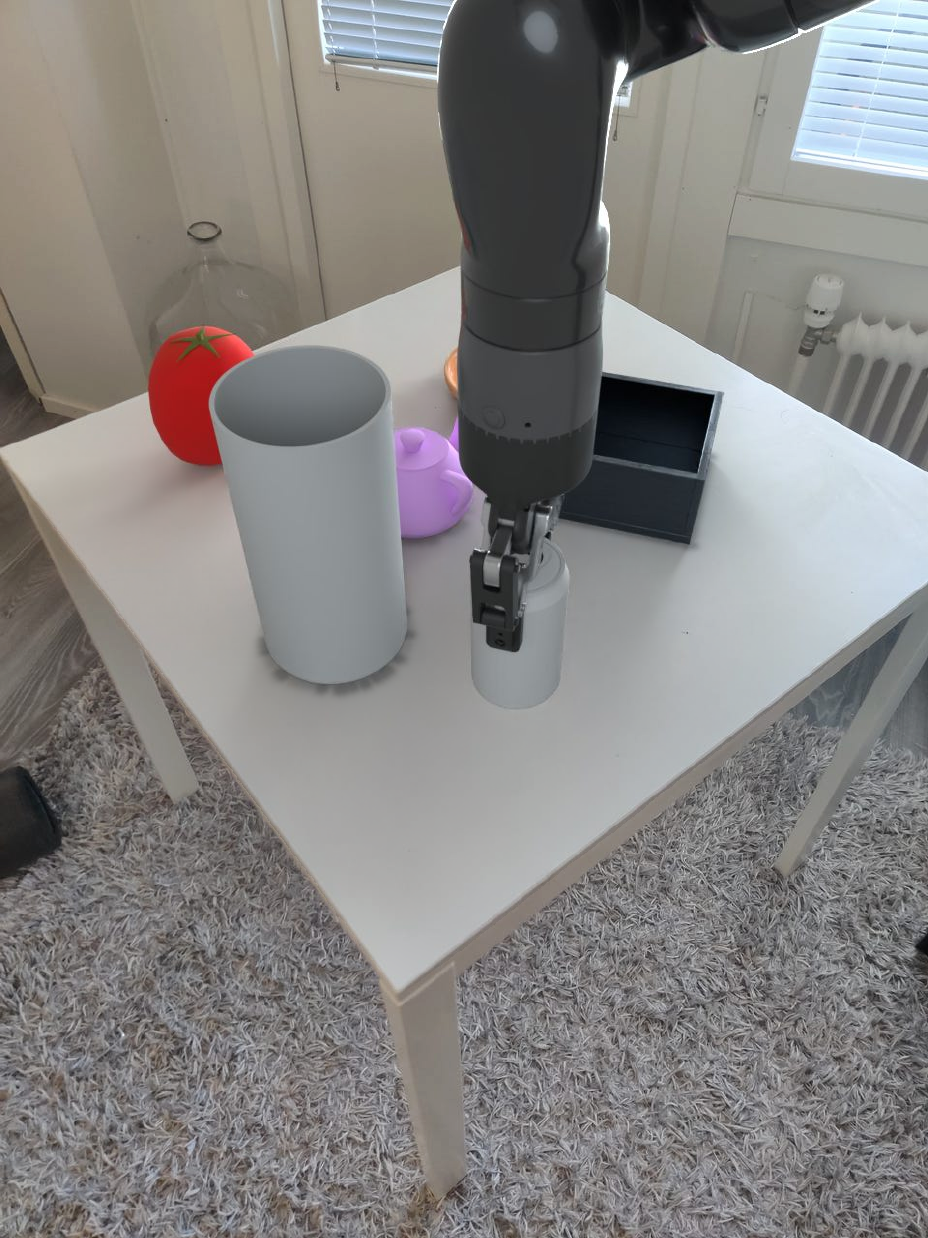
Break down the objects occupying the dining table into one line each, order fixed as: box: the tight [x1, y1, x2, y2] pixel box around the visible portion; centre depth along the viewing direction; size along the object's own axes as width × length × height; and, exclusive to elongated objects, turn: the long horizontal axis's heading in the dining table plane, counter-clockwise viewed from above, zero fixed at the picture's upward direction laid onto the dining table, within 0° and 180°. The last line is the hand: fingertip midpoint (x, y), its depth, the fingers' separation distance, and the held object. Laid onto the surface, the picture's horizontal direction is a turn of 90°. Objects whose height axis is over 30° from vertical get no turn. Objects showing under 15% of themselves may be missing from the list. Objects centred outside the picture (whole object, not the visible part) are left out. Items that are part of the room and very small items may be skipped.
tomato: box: [147, 324, 256, 466], centre depth 97 cm, size 13×11×14 cm
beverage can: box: [469, 538, 571, 710], centre depth 64 cm, size 6×6×12 cm
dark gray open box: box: [558, 371, 725, 545], centre depth 95 cm, size 15×15×8 cm
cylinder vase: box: [209, 344, 408, 685], centre depth 75 cm, size 12×12×25 cm
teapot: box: [394, 415, 474, 539], centre depth 92 cm, size 12×14×9 cm
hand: (518, 606), depth 62 cm, fingers closed on beverage can, 6 cm apart
